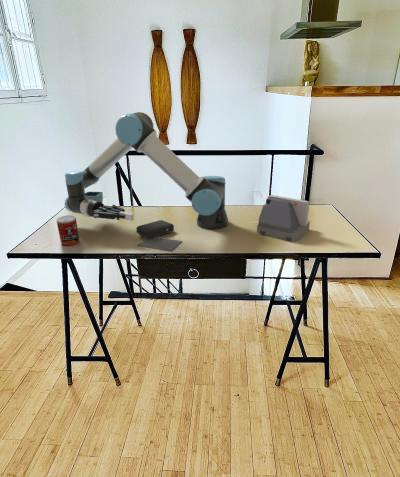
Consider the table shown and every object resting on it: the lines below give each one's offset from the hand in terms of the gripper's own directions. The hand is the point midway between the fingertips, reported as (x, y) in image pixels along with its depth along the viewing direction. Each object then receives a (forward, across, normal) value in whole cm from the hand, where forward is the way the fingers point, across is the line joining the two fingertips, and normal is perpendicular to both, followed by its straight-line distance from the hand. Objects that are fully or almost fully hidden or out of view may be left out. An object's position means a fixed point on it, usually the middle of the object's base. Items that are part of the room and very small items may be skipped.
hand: (132, 217), depth 146 cm
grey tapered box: (+52, -42, -11) cm, 68 cm away
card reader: (+2, -3, -8) cm, 9 cm away
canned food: (-22, +16, -11) cm, 29 cm away
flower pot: (-47, -21, -11) cm, 52 cm away
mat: (+12, -2, -10) cm, 16 cm away
